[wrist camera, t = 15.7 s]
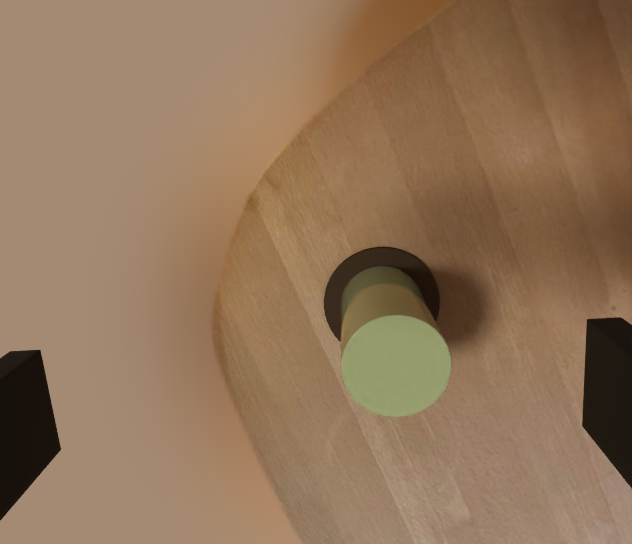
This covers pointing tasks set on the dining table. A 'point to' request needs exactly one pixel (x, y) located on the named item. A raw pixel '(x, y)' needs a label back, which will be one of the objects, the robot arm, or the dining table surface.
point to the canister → (391, 344)
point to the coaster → (375, 259)
